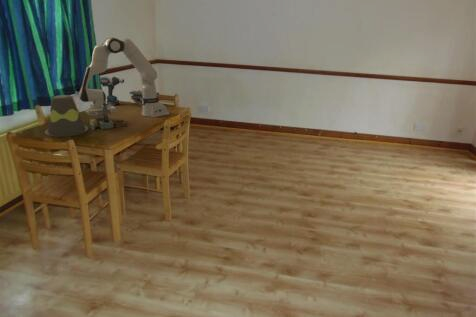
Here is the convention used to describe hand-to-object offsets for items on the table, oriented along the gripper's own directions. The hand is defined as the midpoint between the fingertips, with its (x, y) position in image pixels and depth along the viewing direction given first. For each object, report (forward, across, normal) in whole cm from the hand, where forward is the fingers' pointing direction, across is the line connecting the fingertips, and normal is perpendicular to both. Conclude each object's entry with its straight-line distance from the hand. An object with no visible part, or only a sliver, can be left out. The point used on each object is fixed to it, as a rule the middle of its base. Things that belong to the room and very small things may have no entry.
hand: (104, 113), depth 264 cm
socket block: (+2, -3, +10) cm, 10 cm away
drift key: (-4, -7, +10) cm, 12 cm away
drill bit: (+2, 0, +10) cm, 10 cm away
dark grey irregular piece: (-56, +51, +10) cm, 76 cm away
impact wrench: (-66, +26, +10) cm, 71 cm away
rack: (+2, +10, +10) cm, 14 cm away
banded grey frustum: (-2, -26, +10) cm, 28 cm away
